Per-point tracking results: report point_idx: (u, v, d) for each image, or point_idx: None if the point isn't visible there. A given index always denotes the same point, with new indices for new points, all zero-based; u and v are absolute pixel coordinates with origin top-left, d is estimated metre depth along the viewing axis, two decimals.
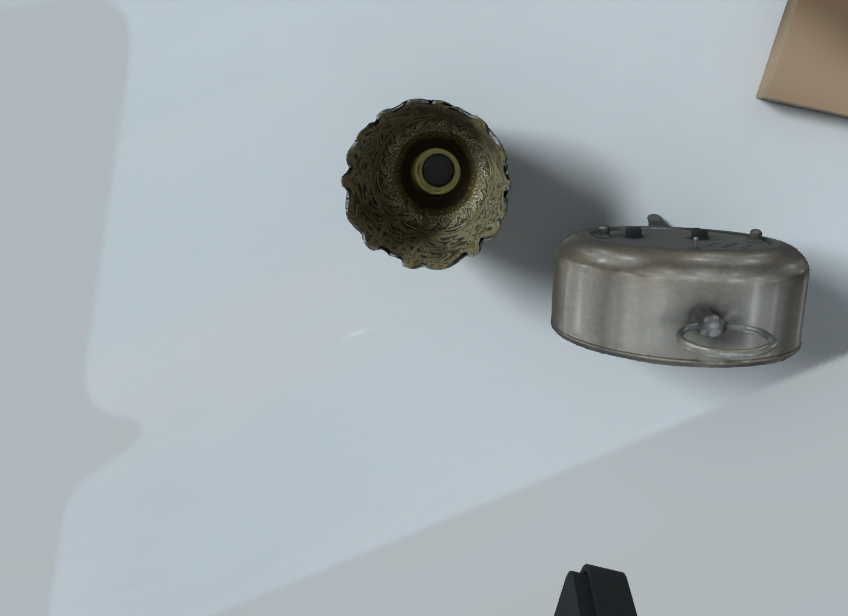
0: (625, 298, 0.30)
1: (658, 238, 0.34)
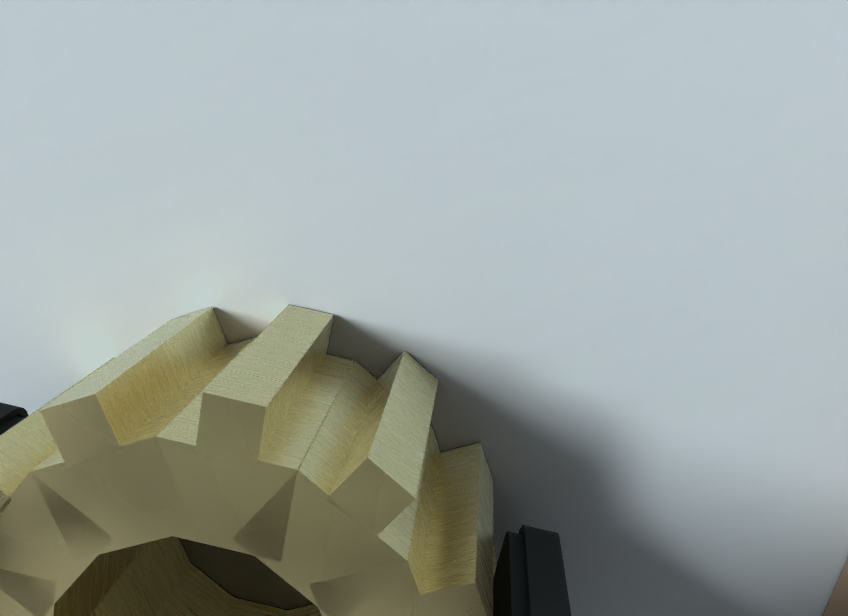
0: None
1: None
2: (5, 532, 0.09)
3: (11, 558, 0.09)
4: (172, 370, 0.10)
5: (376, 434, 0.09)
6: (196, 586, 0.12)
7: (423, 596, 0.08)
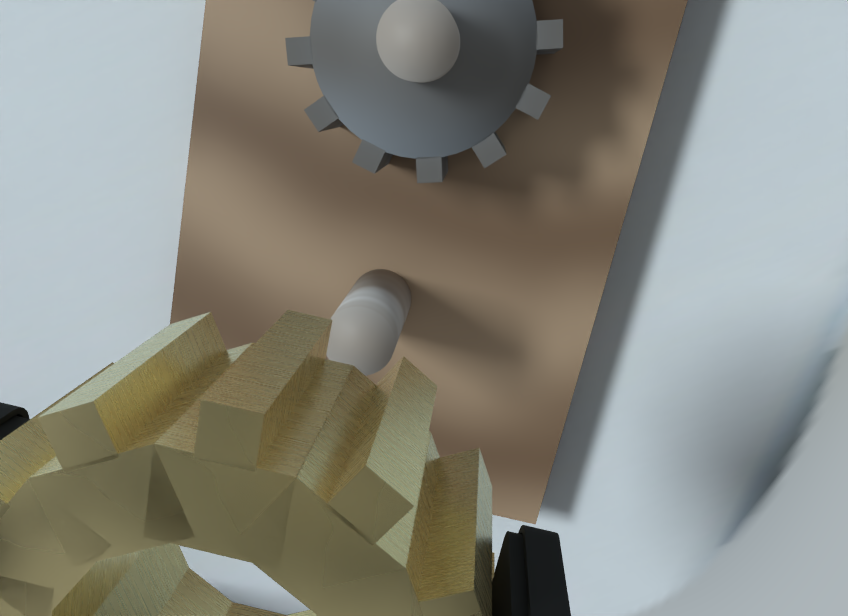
0: None
1: None
2: (3, 539, 0.09)
3: (9, 565, 0.09)
4: (171, 376, 0.10)
5: (375, 442, 0.09)
6: (195, 591, 0.12)
7: (422, 603, 0.08)
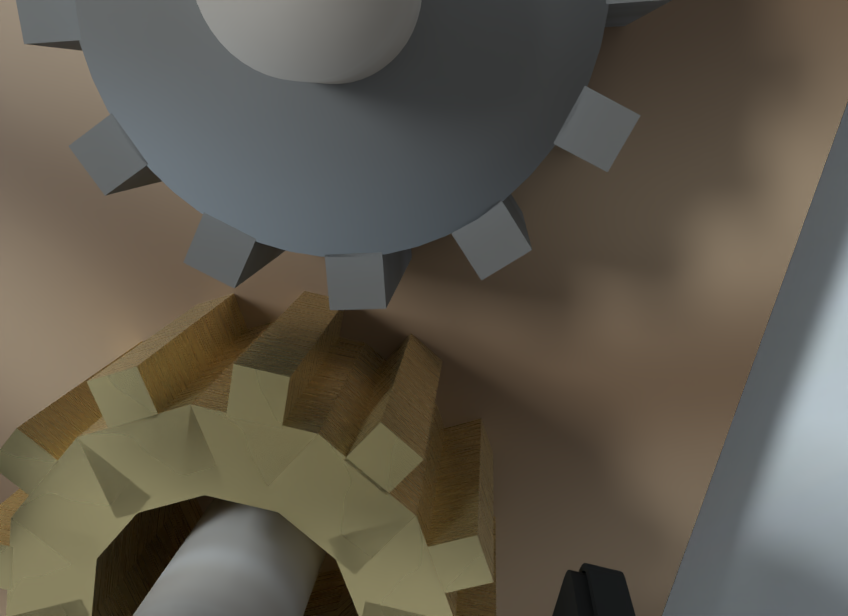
0: None
1: None
2: (53, 493, 0.10)
3: (58, 517, 0.10)
4: (200, 349, 0.11)
5: (388, 404, 0.09)
6: None
7: (430, 548, 0.09)
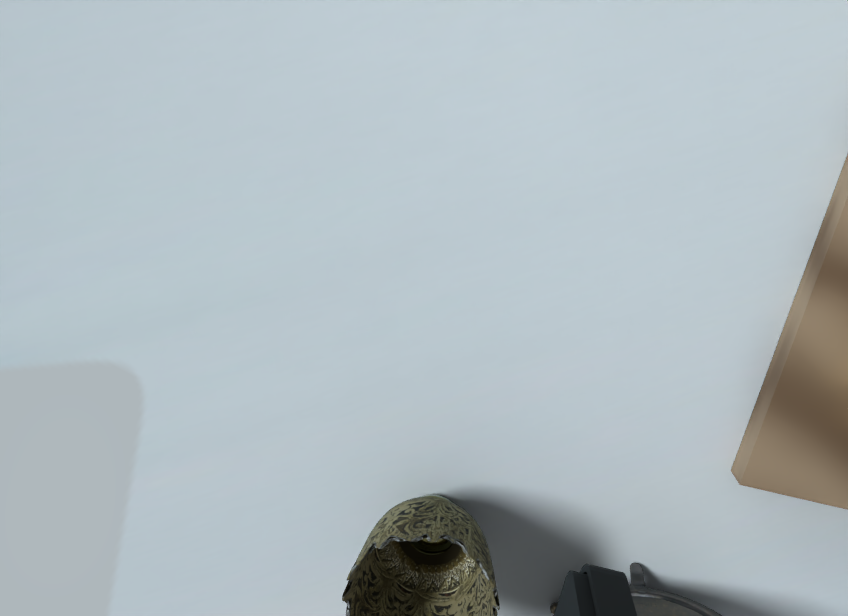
0: None
1: None
2: None
3: None
4: None
5: None
6: None
7: None
